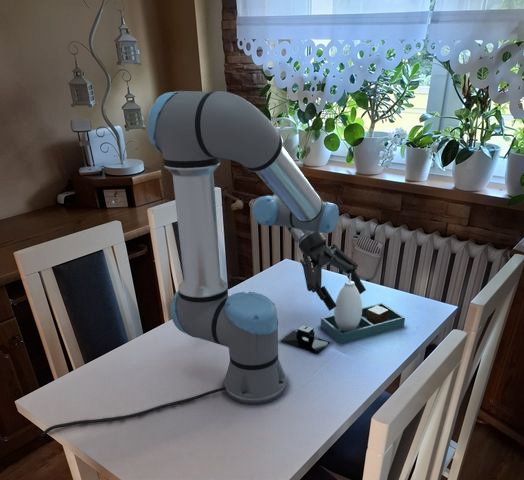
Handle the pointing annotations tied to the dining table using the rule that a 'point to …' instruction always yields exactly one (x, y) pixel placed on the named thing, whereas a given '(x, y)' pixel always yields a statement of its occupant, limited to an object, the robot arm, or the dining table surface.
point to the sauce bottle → (348, 307)
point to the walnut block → (377, 315)
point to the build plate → (305, 340)
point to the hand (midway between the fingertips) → (348, 300)
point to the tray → (363, 326)
